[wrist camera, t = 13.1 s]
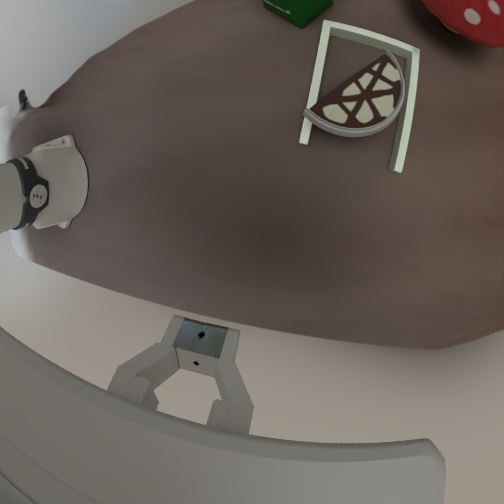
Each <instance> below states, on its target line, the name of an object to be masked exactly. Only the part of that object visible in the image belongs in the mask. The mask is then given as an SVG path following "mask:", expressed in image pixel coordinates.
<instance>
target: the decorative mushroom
mask: <svg viewBox="0 0 504 504" xmlns="http://www.w3.org/2000/svg"><path fill="white" fill-rule="evenodd" d="M421 1H422V3H423V4H424V5H425V7H426V8H427V9H428V10H429V11H430V12H431V13H432V14H434V15H435V16H436V17H437V18H438V19H439V20H441V22H442V24H443V25H444V26H445V27H446V28H448V29H449V30H451V31H452V32H455V33H458V34H461V35H463V36H464V37H466V38H468V39H469V40H471V41H474V42H476V43H479V44H482V45H484V46H487V47H489V48H499V47H504V0H421Z"/></svg>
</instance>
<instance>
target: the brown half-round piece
mask: <svg viewBox="0 0 504 504" xmlns="http://www.w3.org/2000/svg"><path fill="white" fill-rule="evenodd" d="M404 94H405V84H404V78H403V75H402V71H401V69H400V66H399V64H398V62H397V61H396V59H395V57H394V56H393V55H392V53H391V52H390V51H389V50H388V49H387V50H386V52H385V53H384V54H383V56H380V57H379V58H378V59H377V60H375V61H374V62H372V63H371V64H369V65H368V66H366V67H365V68H363V69H362V70H361V71H359V72H357V73H356V74H354V75H353V76H352V77H350V78H349V79H347V80H346V81H345V82H343V83H342V84H341V85H340V86H338V87H337V88H335V89H334V90H333V91H331V92H330V93H329V94H328V95H326V96H325V97H324V98H322V99H321V100H320V101H318V102H317V103H316V104H315V105H313V106H312V107H311V108H310V110H309V109H308V108H307V107H306V109H305V110H304V112H303V116H305V117H306V118H307V119H308V120H309V121H310V122H312V123H313V124H314V125H316V126H317V127H319V128H321V129H323V130H325V131H327V132H330V133H333V134H335V135H340V136H345V137H364V136H368V135H372V134H375V133H377V132H380V131H381V130H383V129H384V128H386V127H387V126H388V125H390V124H391V123H392V122H393V120H394V119H395V118H396V116H397V115H398V113H399V111H400V109H401V106H402V103H403V100H404Z"/></svg>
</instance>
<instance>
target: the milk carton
mask: <svg viewBox="0 0 504 504" xmlns="http://www.w3.org/2000/svg"><path fill="white" fill-rule="evenodd" d="M263 4H264V7H265V8H267V9H269V10H271V11H272V12H274V13H276V14H278V15H279V16H281V17H283V18H285V19H286V20H288V21H290V22H291V23H293V24H295V25H296V26H298V27H299V28H301V29H303V28H304V27H305V26H306V25H307V24H309V23H310V22H311V21H312V20H313V19H315V18H316V17H317V16H318V15H320V14H321V13H322V12H323V11H325V10H326V9H327V8H329V7H330V6H331V5H332V4H333V1H332V0H263Z"/></svg>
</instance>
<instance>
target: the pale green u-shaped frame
mask: <svg viewBox="0 0 504 504" xmlns="http://www.w3.org/2000/svg"><path fill="white" fill-rule="evenodd" d="M330 36H335V37H339V38H343V39H347V40H351V41H355V42H358V43H362V44H365V45H369V46H372V47H375V48H378V49H381V50H384V51H386V50H387V49H388V50H389V51H390V52H391V53H393V54H395V55H398V56H401V57H403V58H406V59H407V60H406V70H405V79H404V84H405V94H404V100H403V103H402V106H401V109H400V114H399V120H398V126H397V131H396V136H395V142H394V146H393V151H392V156H391V160H390V165H389V169H388V170H391V171H394V172H398V173H401V172H402V168H403V164H404V159H405V155H406V150H407V145H408V140H409V135H410V129H411V123H412V117H413V111H414V104H415V97H416V88H417V79H418V68H419V54H420V49H418V48H415V47H413V46H411V45H408V44H406V43H403V42H400V41H398V40H395V39H392V38H389V37H387V36H384V35H381V34H377V33H374V32H371V31H368V30H364V29H361V28H357V27H354V26H350V25H346V24H341V23H337V22H333V21H328V20H324V21H323V26H322V32H321V37H320V43H319V48H318V53H317V58H316V63H315V68H314V73H313V78H312V83H311V88H310V93H309V98H308V103H307V108H308V109H309V110H310V108H311V107H312V106H313V105H315V104H316V103H317V100H318V95H319V90H320V85H321V80H322V75H323V70H324V65H325V59H326V54H327V48H328V43H329V37H330ZM312 124H313V123H312V122H310V121H309V120H308V119H307V118H306V117H304V122H303V127H302V131H301V136H300V141H299V143H300V144H302V145H306V146H308V143H309V138H310V134H311V129H312Z"/></svg>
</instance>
